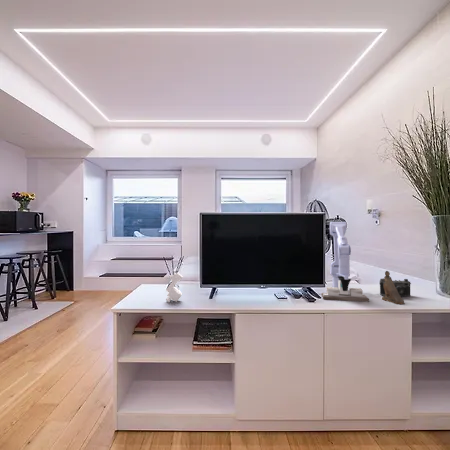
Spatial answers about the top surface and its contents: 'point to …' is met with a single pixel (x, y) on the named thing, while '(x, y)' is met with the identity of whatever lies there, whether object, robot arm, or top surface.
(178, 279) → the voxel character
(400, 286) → the camera
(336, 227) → the robot arm
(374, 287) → the top surface
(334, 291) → the rail board
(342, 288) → the block
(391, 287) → the brown carved statuette
